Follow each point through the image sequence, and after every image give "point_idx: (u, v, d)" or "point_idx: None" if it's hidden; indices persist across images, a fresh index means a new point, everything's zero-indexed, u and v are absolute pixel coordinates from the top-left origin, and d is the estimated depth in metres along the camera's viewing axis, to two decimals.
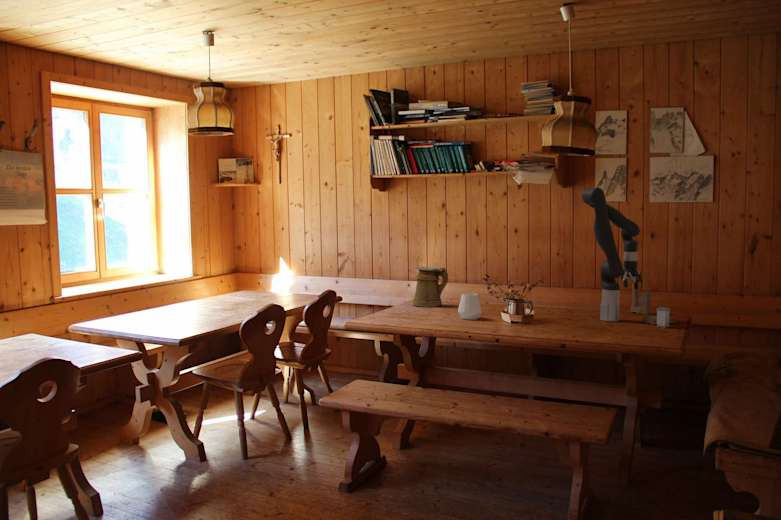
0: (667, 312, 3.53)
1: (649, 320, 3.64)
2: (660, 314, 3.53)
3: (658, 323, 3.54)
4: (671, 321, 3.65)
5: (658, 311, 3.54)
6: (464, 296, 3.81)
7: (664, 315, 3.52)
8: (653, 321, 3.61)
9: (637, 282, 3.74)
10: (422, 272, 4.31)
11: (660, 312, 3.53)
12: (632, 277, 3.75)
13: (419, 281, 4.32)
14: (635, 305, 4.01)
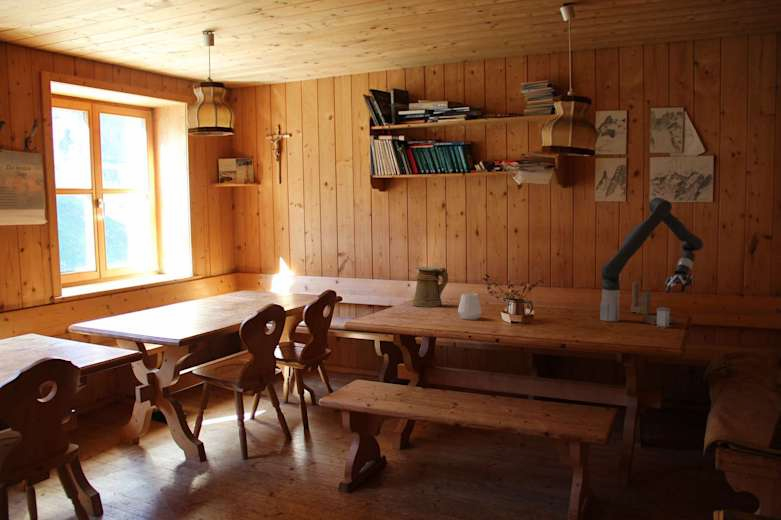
0: (667, 312, 3.53)
1: (649, 320, 3.64)
2: (660, 314, 3.53)
3: (658, 323, 3.54)
4: (671, 321, 3.65)
5: (658, 311, 3.54)
6: (464, 296, 3.81)
7: (664, 315, 3.52)
8: (653, 321, 3.61)
9: None
10: (422, 272, 4.31)
11: (660, 312, 3.53)
12: None
13: (419, 281, 4.32)
14: (635, 305, 4.01)
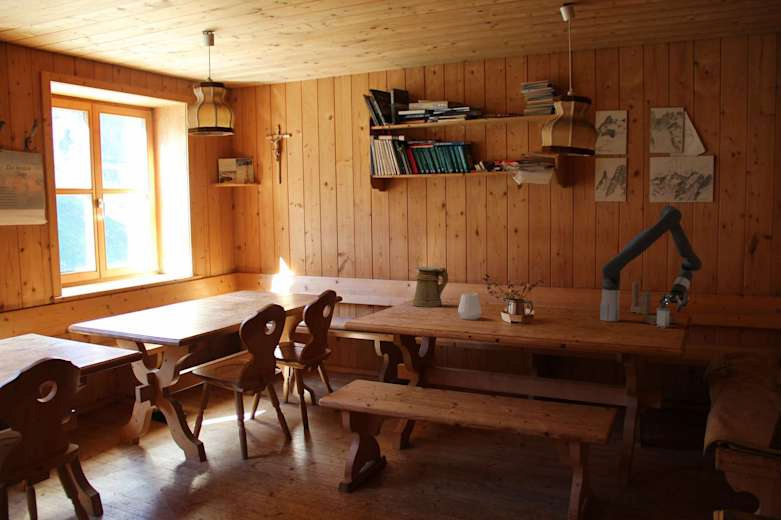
0: (667, 312, 3.53)
1: (649, 320, 3.64)
2: (660, 314, 3.53)
3: (658, 323, 3.54)
4: (671, 321, 3.65)
5: (658, 311, 3.54)
6: (464, 296, 3.81)
7: (664, 315, 3.52)
8: (653, 321, 3.61)
9: (662, 304, 3.62)
10: (422, 272, 4.31)
11: (660, 312, 3.53)
12: None
13: (419, 281, 4.32)
14: (635, 305, 4.01)
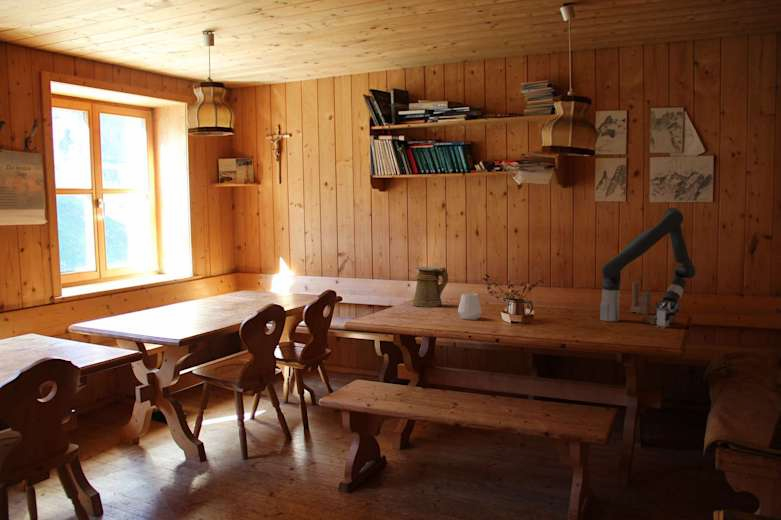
0: (667, 312, 3.53)
1: (649, 320, 3.64)
2: (660, 314, 3.53)
3: (658, 323, 3.54)
4: (671, 321, 3.65)
5: (658, 311, 3.54)
6: (464, 296, 3.81)
7: (664, 315, 3.52)
8: (653, 321, 3.61)
9: None
10: (422, 272, 4.31)
11: (660, 312, 3.53)
12: None
13: (419, 281, 4.32)
14: (635, 305, 4.01)
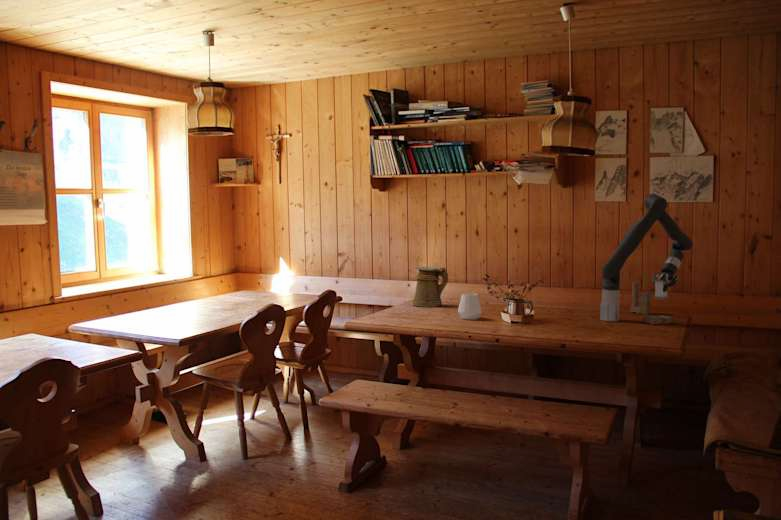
0: (665, 283, 3.62)
1: (649, 320, 3.64)
2: (659, 285, 3.63)
3: (656, 294, 3.64)
4: (671, 321, 3.65)
5: (656, 282, 3.64)
6: (464, 296, 3.81)
7: (662, 286, 3.61)
8: (653, 321, 3.61)
9: None
10: (422, 272, 4.31)
11: (658, 283, 3.63)
12: None
13: (419, 281, 4.32)
14: (635, 305, 4.01)
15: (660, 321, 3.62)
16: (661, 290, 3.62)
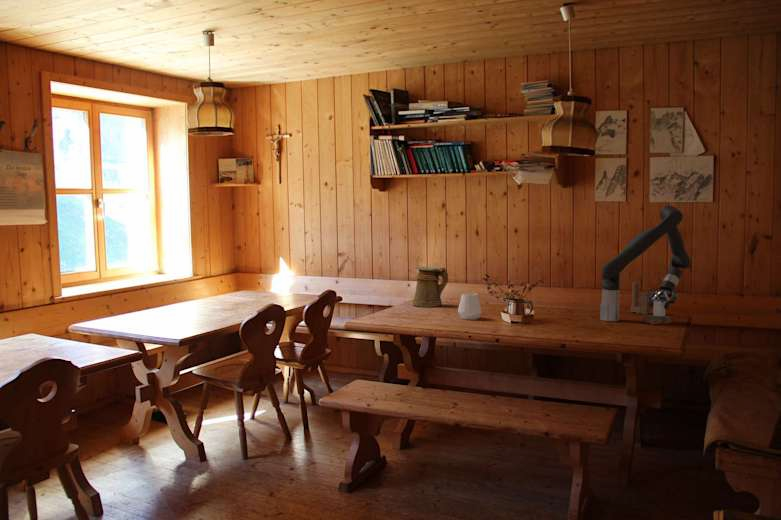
0: (663, 303, 3.65)
1: (649, 320, 3.64)
2: (657, 304, 3.66)
3: (655, 313, 3.67)
4: (671, 321, 3.65)
5: (655, 302, 3.67)
6: (464, 296, 3.81)
7: (660, 306, 3.64)
8: (653, 321, 3.61)
9: None
10: (422, 272, 4.31)
11: (656, 303, 3.66)
12: None
13: (419, 281, 4.32)
14: (635, 305, 4.01)
15: (660, 321, 3.62)
16: (659, 309, 3.65)
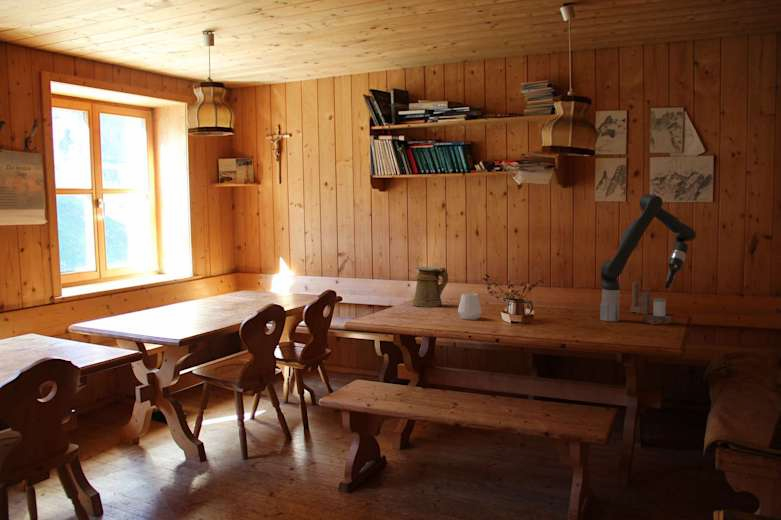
0: (663, 303, 3.65)
1: (649, 320, 3.64)
2: (657, 304, 3.66)
3: (655, 313, 3.67)
4: (671, 321, 3.65)
5: (655, 302, 3.67)
6: (464, 296, 3.81)
7: (660, 306, 3.64)
8: (653, 321, 3.61)
9: (668, 282, 3.81)
10: (422, 272, 4.31)
11: (656, 303, 3.66)
12: (673, 278, 3.79)
13: (419, 281, 4.32)
14: (635, 305, 4.01)
15: (660, 321, 3.62)
16: (659, 309, 3.65)
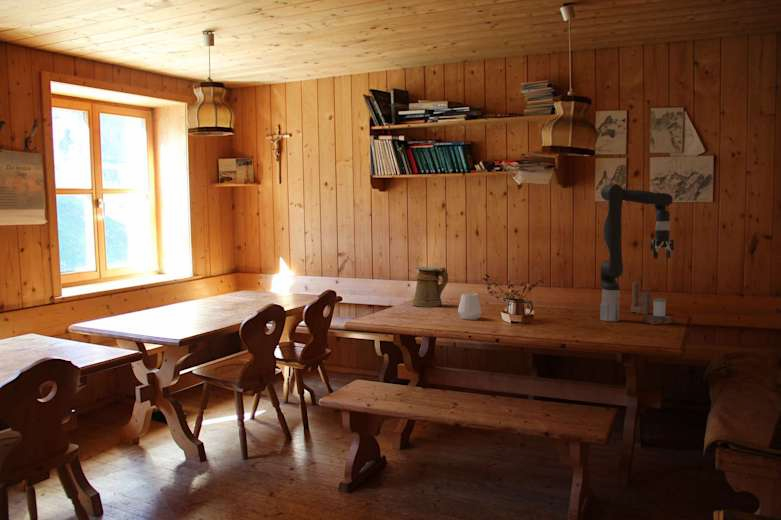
0: (663, 303, 3.65)
1: (649, 320, 3.64)
2: (657, 304, 3.66)
3: (655, 313, 3.67)
4: (671, 321, 3.65)
5: (655, 302, 3.67)
6: (464, 296, 3.81)
7: (660, 306, 3.64)
8: (653, 321, 3.61)
9: None
10: (422, 272, 4.31)
11: (656, 303, 3.66)
12: (669, 246, 3.78)
13: (419, 281, 4.32)
14: (635, 305, 4.01)
15: (660, 321, 3.62)
16: (659, 309, 3.65)
